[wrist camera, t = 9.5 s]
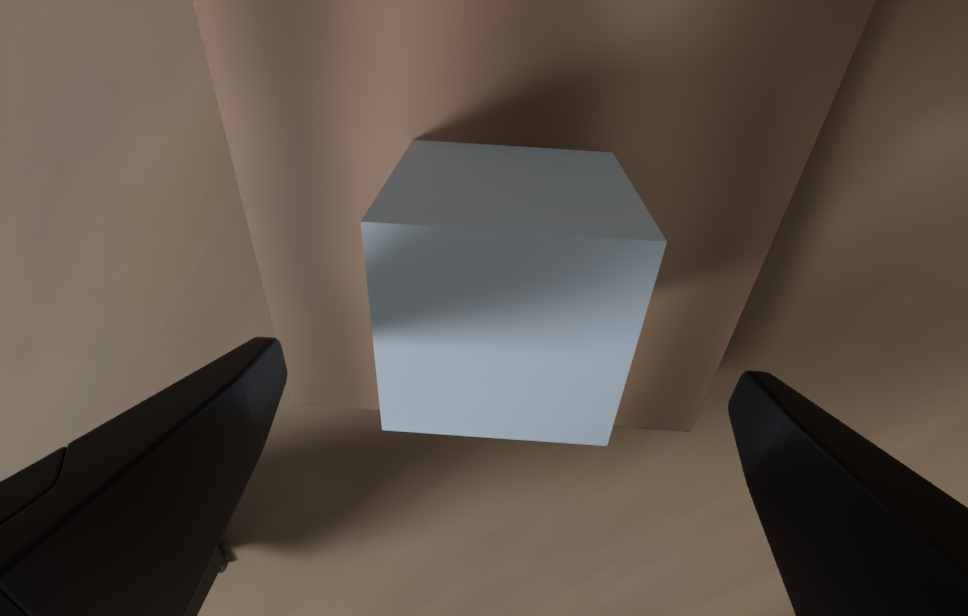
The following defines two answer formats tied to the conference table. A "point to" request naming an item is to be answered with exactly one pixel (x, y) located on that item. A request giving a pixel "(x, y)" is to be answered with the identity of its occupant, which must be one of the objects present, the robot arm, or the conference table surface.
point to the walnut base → (525, 123)
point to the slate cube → (507, 290)
